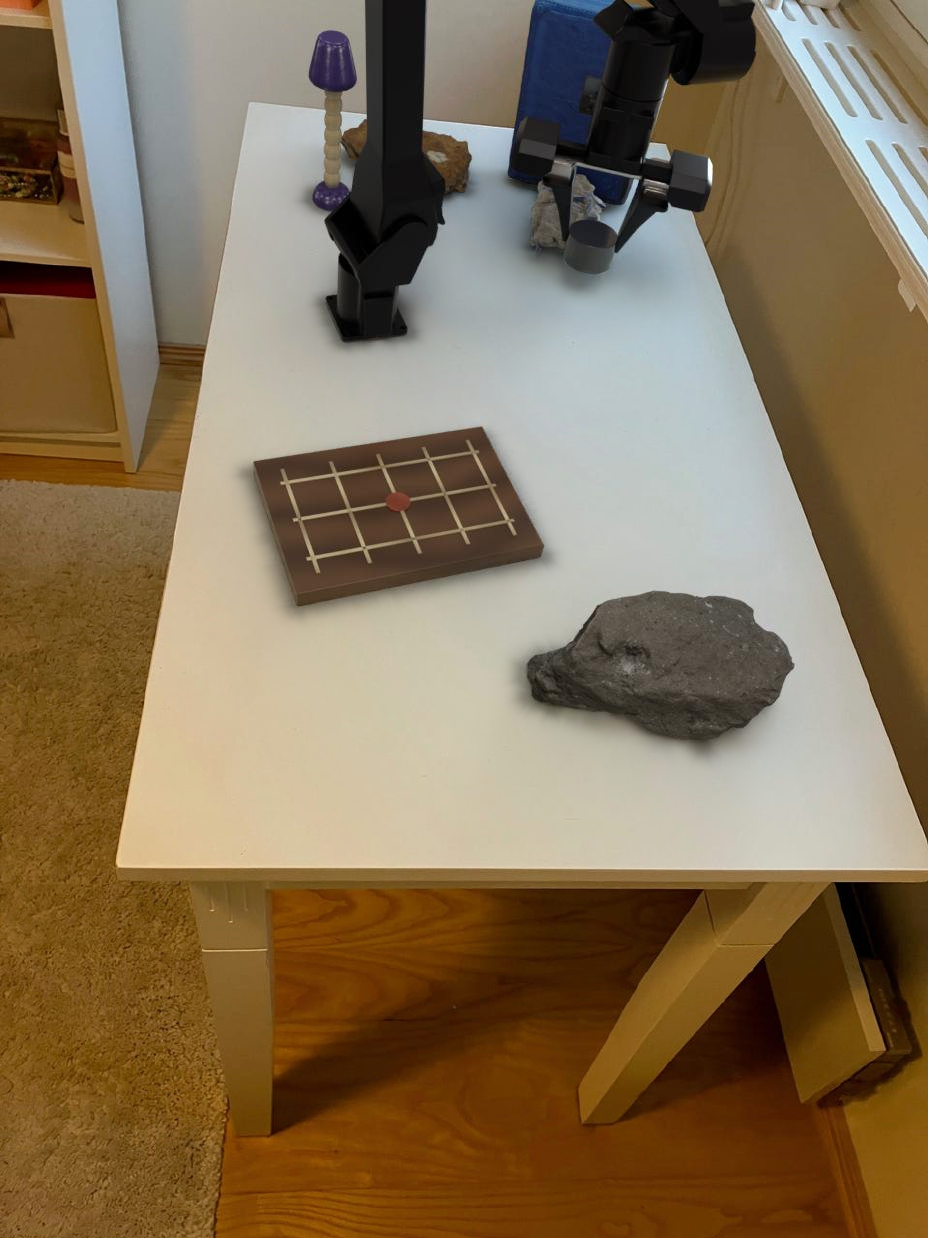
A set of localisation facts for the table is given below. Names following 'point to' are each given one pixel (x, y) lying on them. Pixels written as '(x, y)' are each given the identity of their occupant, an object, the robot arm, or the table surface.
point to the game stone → (590, 246)
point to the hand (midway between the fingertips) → (590, 244)
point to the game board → (393, 513)
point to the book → (565, 81)
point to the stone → (667, 664)
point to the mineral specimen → (547, 215)
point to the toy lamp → (332, 109)
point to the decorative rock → (438, 148)
